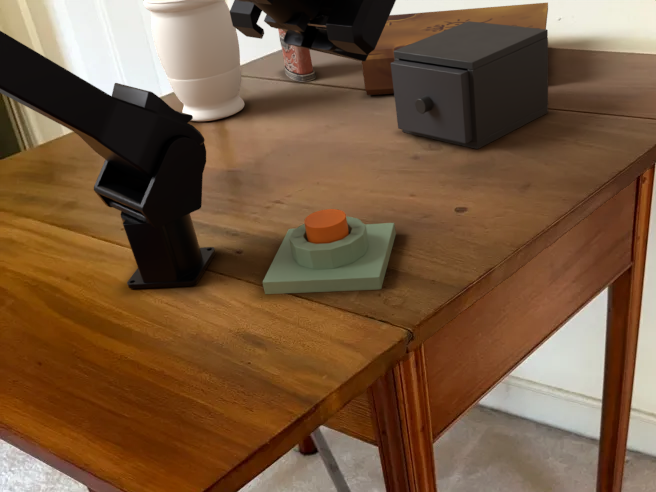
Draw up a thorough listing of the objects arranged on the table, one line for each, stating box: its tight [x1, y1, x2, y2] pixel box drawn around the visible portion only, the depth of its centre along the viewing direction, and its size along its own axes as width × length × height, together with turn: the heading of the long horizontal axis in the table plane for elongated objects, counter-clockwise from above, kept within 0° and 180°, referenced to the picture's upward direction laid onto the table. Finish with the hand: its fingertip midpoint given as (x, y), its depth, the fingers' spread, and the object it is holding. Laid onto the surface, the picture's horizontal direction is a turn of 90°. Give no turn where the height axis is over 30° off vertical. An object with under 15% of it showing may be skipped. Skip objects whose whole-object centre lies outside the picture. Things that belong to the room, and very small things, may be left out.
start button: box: [303, 208, 349, 244], centre depth 70 cm, size 4×4×2 cm
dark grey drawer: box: [391, 60, 473, 144], centre depth 92 cm, size 13×10×7 cm
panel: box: [262, 215, 397, 295], centre depth 72 cm, size 10×10×3 cm
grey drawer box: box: [394, 21, 549, 150], centre depth 93 cm, size 13×12×9 cm
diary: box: [361, 2, 549, 96], centre depth 111 cm, size 23×19×6 cm
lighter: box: [277, 29, 317, 83], centre depth 118 cm, size 8×3×10 cm, turn 25°
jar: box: [142, 0, 246, 122], centre depth 107 cm, size 11×10×15 cm
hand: (364, 56), depth 81 cm, fingers closed
